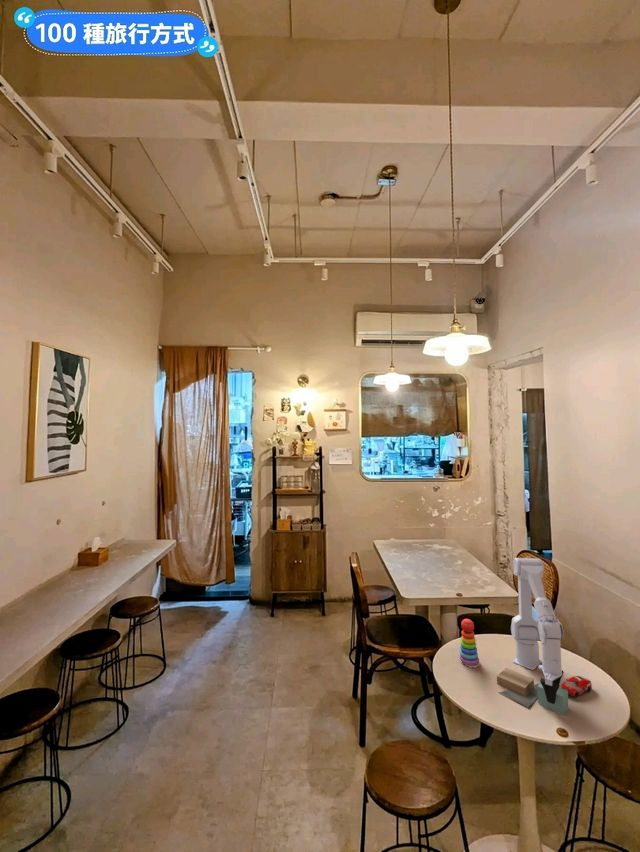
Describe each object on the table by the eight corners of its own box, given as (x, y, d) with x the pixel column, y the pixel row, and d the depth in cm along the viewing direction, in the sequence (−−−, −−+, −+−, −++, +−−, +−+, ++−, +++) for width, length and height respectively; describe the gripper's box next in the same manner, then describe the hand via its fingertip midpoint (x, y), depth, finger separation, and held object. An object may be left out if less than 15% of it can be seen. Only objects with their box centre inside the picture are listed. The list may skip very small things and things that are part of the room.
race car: (572, 699, 139) (572, 687, 139) (557, 690, 144) (557, 679, 144) (595, 690, 145) (595, 679, 145) (579, 682, 149) (579, 671, 150)
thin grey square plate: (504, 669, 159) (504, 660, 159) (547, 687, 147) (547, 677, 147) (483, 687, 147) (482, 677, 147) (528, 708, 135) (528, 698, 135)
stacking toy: (462, 658, 167) (461, 613, 168) (482, 664, 162) (480, 618, 163) (456, 667, 160) (455, 620, 161) (477, 673, 156) (475, 625, 157)
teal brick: (543, 697, 141) (542, 680, 141) (568, 708, 135) (567, 690, 135) (537, 703, 138) (537, 686, 138) (563, 715, 132) (562, 696, 132)
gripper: (542, 644, 145) (543, 682, 145) (534, 661, 134) (535, 702, 133) (564, 650, 141) (565, 690, 140) (558, 668, 130) (560, 711, 129)
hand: (552, 696), depth 137 cm, fingers open, 7 cm apart
